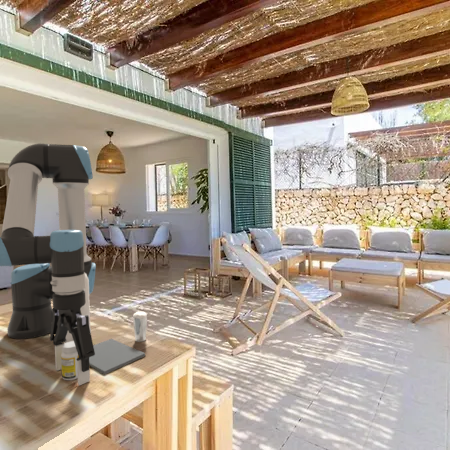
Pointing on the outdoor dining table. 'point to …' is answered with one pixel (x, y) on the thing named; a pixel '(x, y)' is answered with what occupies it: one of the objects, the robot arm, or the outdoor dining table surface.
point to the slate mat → (113, 356)
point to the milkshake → (140, 325)
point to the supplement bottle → (69, 361)
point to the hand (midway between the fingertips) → (72, 375)
